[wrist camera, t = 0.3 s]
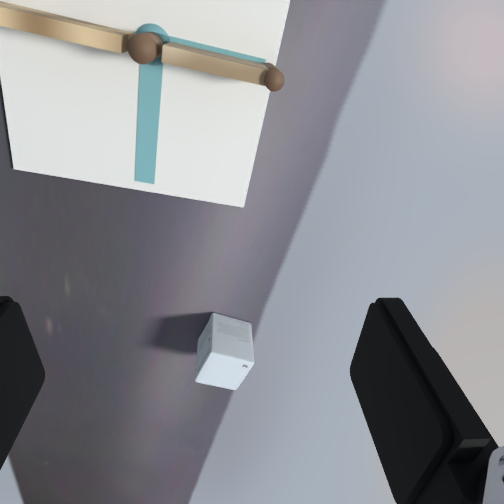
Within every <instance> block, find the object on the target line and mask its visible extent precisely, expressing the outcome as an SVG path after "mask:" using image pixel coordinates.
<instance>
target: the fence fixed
mask: <svg viewBox="0 0 504 504" xmlns="http://www.w3.org/2000/svg"><path fill="white" fill-rule="evenodd" d="M127 49H128V53H129V55H130V57H131V58H132V59H133V60H134V61H135V62H136V63H138V64H148V63H150V62H151V61H153V60H155V59H156V58H158V57H160V56H161V55H162V63H166V64H171V65H175V66H179V67H184V68H188V69H192V70H197V71H201V72H205V73H210V74H214V75H219V76H223V77H227V78H232V79H236V80H240V81H245V82H249V83H253V84H258V85H262V86H266V87H267V89H268V90H270V91H278V90H280V89H281V88H282V86H283V84H284V76H283V74H282V72H281V71H279V70H278V69H277V68H276V67H275V66H274V65H273V64H271V63H265V64H262V63H258V62H254V61H249V60H245V59H241V58H237V57H233V56H229V55H224V54H220V53H216V52H212V51H208V50H204V49H199V48H195V47H191V46H187V45H183V44H179V43H174V42H169V43H166V44H164V42H163V39H162V38H161V36H160V35H158V34H157V33H155V32H146V33H140V34H135V35H133V36H132V37H131V38H130V39H129V41H128V44H127Z"/></svg>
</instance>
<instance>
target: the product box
mask: <svg viewBox="0 0 504 504" xmlns="http://www.w3.org/2000/svg"><path fill="white" fill-rule="evenodd" d="M253 365H254V355H253V341H252V329H251V323H249V322H245V321H242V320H238V319H235V318H231V317H227V316H224V315H220V314H217V313H212V315H211V317H210V319H209V321H208V323H207V325H206V327H205V329H204V330H203V332H202V334H201V335H200V337H199V339H198V346H197V360H196V373H195V382H199V383H203V384H208V385H213V386H218V387H222V388H227V389H232V390H237V388H238V387H239V385H240V384H241V382H242V381H243V380H244V378H245V377H246V375H247V373H248V372H249V370H250V369H251V367H252V366H253Z"/></svg>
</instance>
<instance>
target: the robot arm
mask: <svg viewBox="0 0 504 504" xmlns="http://www.w3.org/2000/svg"><path fill="white" fill-rule="evenodd" d="M350 376H351V380H352V383H353V385H354V388H355V391H356V394H357V397H358V399H359V402H360V405H361V408H362V410H363V413H364V416H365V419H366V422H367V425H368V427H369V430H370V433H371V436H372V439H373V441H374V444H375V447H376V450H377V453H378V455H379V458H380V461H381V464H382V466H383V469H384V472H385V475H386V478H387V480H388V483H389V486H390V489H391V492H392V494H393V497H394V499H395V501H396V503H397V504H504V446H503V447H498V445H497V444H496V442H495V441H494V439H493V437H492V436H491V434H490V433H489V431H488V430H487V428H486V427H485V425H484V424H483V422H482V420H481V419H480V417H479V416H478V414H477V413H476V411H475V410H474V408H473V407H472V405H471V403H470V402H469V401H468V399H467V397H466V396H465V394H464V393H463V391H462V390H461V388H460V387H459V385H458V384H457V382H456V380H455V379H454V377H453V376H452V374H451V373H450V371H449V369H448V368H447V366H446V365H445V363H444V362H443V360H442V359H441V357H440V356H439V354H438V353H437V352H436V350H435V349H434V348H433V347H432V346H431V344H430V343H429V341H428V340H427V338H426V337H425V335H424V333H423V332H422V331H421V329H420V327H419V326H418V324H417V322H416V321H415V319H414V318H413V316H412V315H411V313H410V312H409V310H408V309H407V307H406V305H405V304H404V302H403V301H402V300H401V299H400V298H378V299H377V300H376V302H375V303H371V304H370V306H369V309H368V312H367V315H366V318H365V321H364V325H363V328H362V331H361V334H360V337H359V340H358V343H357V347H356V350H355V353H354V356H353V359H352V362H351V366H350ZM44 379H45V370H44V367H43V365H42V362H41V359H40V357H39V354H38V352H37V349H36V346H35V344H34V341H33V338H32V336H31V333H30V331H29V328H28V325H27V323H26V320H25V317H24V315H23V312H22V309H21V307H20V305H19V303H17V302H14V301H13V300H12V298H11V297H9V296H0V469H1V467H2V466H3V464H4V462H5V460H6V458H7V456H8V454H9V452H10V449H11V447H12V445H13V443H14V441H15V439H16V437H17V435H18V433H19V431H20V429H21V427H22V425H23V423H24V421H25V419H26V417H27V415H28V413H29V411H30V409H31V407H32V405H33V403H34V401H35V399H36V397H37V395H38V393H39V391H40V389H41V387H42V385H43V383H44Z"/></svg>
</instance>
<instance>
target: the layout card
mask: <svg viewBox="0 0 504 504" xmlns="http://www.w3.org/2000/svg"><path fill="white" fill-rule="evenodd" d="M0 1H3V2H7V3H11V4H15V5H20V6H24V7H28V8H32V9H36V10H40V11H45V12H49V13H53V14H57V15H61V16H65V17H70V18H74V19H78V20H82V21H86V22H90V23H95V24H99V25H103V26H107V27H111V28H115V29H119V30H124V31H128V32H132V33H135V34H140V33H146V32H155V33H157V34H158V35H160V36H161V38H162V39H163V42H164V44H166V43H169V42H174V43H179V44H183V45H187V46H191V47H195V48H199V49H204V50H208V51H212V52H216V53H220V54H224V55H229V56H233V57H237V58H241V59H245V60H249V61H254V62H258V63H262V64H265V63H271V64H273V65H274V66H276V61H277V57H278V53H279V48H280V44H281V39H282V35H283V30H284V26H285V21H286V17H287V13H288V8H289V4H290V0H0ZM0 78H1V85H2V92H3V99H4V105H5V112H6V119H7V126H8V133H9V140H10V147H11V153H12V160H13V167H14V169H17V170H23V171H29V172H35V173H41V174H47V175H52V176H58V177H64V178H70V179H76V180H82V181H88V182H94V183H100V184H106V185H112V186H118V187H124V188H130V189H136V190H142V191H148V192H154V193H160V194H166V195H172V196H178V197H184V198H190V199H196V200H202V201H208V202H214V203H220V204H226V205H232V206H238V207H244V204H245V199H246V195H247V190H248V186H249V182H250V177H251V173H252V168H253V164H254V159H255V155H256V150H257V146H258V142H259V137H260V133H261V128H262V124H263V119H264V115H265V110H266V106H267V102H268V97H269V93H270V90H268V89H267V87H266V86H262V85H258V84H253V83H249V82H245V81H240V80H236V79H232V78H227V77H223V76H219V75H214V74H210V73H205V72H201V71H197V70H192V69H188V68H184V67H179V66H175V65H171V64H166V63H162V55H161V56H160V57H158V58H156V59H155V60H153V61H151V62H150V63H148V64H138V63H136V62H135V61H134V60H133V59H132V58H131V57H130V55H129V53H128V51H127V52H124V53H117V52H112V51H108V50H104V49H99V48H95V47H91V46H86V45H82V44H77V43H73V42H69V41H64V40H60V39H56V38H51V37H47V36H43V35H38V34H34V33H29V32H25V31H21V30H16V29H12V28H8V27H3V26H0Z"/></svg>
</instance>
